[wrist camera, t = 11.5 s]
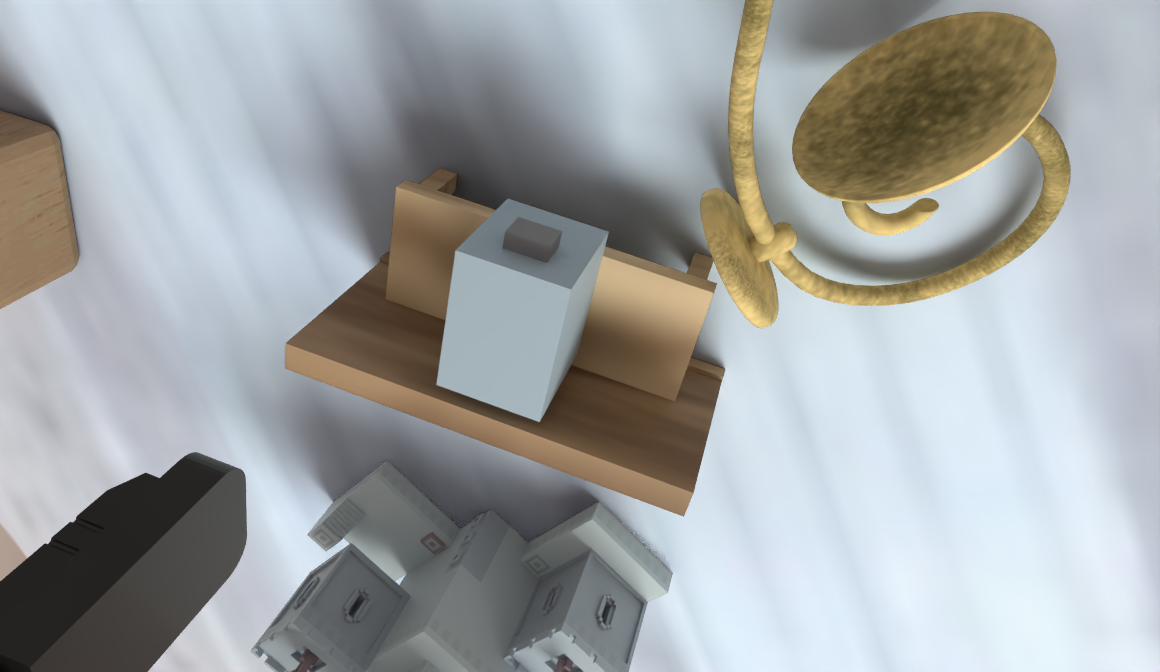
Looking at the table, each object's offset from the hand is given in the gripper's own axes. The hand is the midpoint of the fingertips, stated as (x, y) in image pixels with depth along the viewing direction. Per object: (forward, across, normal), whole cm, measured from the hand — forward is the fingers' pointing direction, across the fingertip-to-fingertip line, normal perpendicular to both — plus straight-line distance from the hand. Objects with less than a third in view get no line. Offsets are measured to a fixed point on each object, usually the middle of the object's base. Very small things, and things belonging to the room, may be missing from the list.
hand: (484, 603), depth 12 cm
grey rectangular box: (+26, +6, +10) cm, 29 cm away
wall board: (+30, +6, +13) cm, 33 cm away
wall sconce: (+30, -12, +6) cm, 32 cm away
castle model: (+30, +6, +33) cm, 45 cm away
